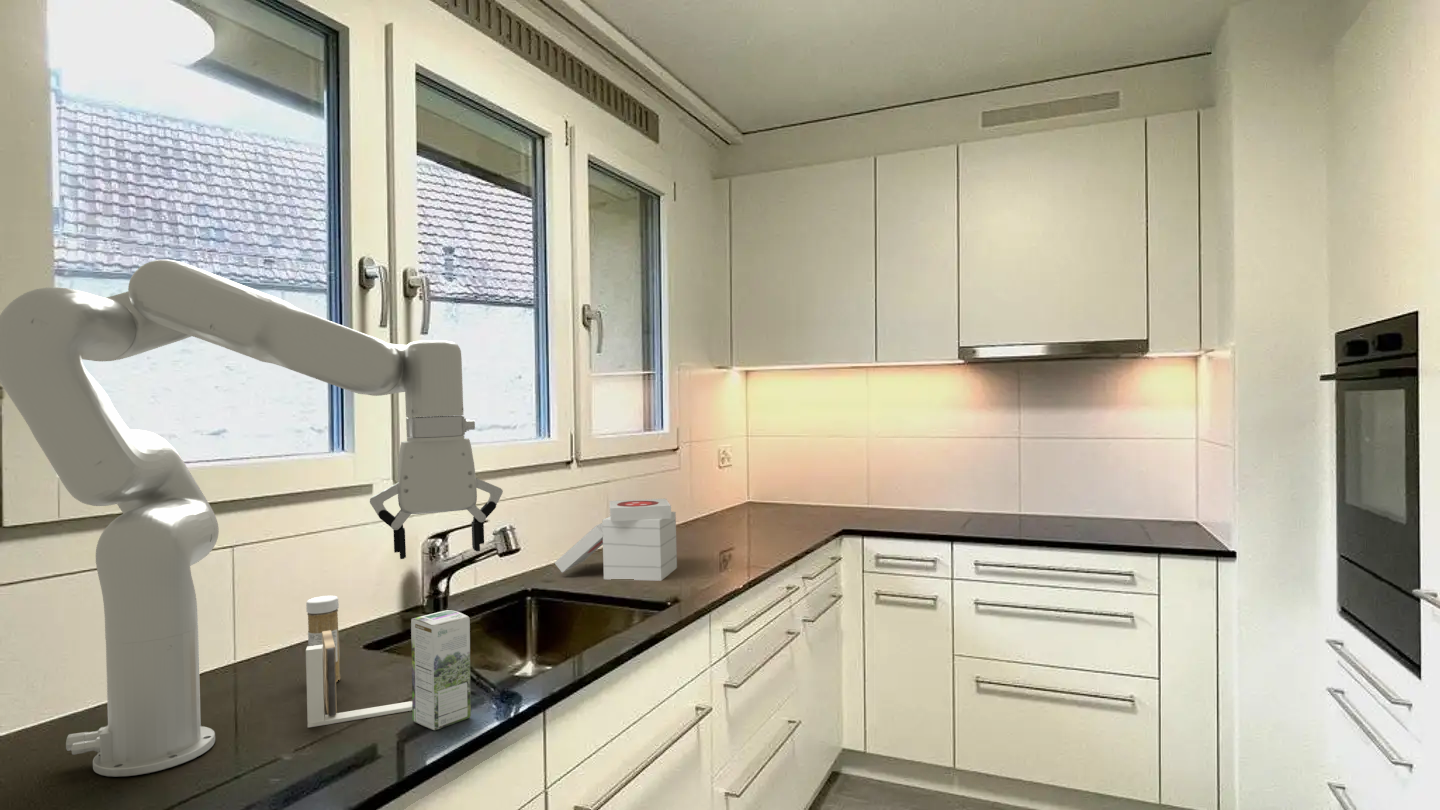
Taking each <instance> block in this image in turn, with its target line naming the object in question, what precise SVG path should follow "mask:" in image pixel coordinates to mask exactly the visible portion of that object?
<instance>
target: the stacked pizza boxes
mask: <svg viewBox="0 0 1440 810" xmlns="http://www.w3.org/2000/svg"><path fill="white" fill-rule="evenodd" d="M676 513H677V512H676V511H672V505H671V504H670V502H669V501H668V500H667V498H648V499H647V498H646V499H625V500H623V499H622V500H609V515H610V516H608V517H605V518H603V519H601V521H602V522H601V523H599V524H596V525H595V526H594V527H593V528H592V529H590V530H589V531H588V532H587V533H586V534H585V535H584V536H582V538H580V539H579V541H577V542H576V543H575V544H574V545H573V546H572V547H571V548H569V549H568V550H567V551H566V552H565V553H564V554H562V555H561V557H559V558H557V560H556V561H554V564H555V566H556V567H557V569H559V571H560V572H561V573H564V572H567V571H568V570H570V569H572V568H574V567H576V566H577V565H579V564H581V563H583V562H585V561H586V560H587V559H588V558H589V557H591V555H592V554H594V553H595V552H596V551H597V550H598V549H600V548H601V546H602V556H603V557H602V562H603V563H602V564H603V580H611V579H634V580H633V581H658V582H659V581H663V580H665V578H667V577H668V576H669V575H671V573H673V572H674V571H676V569H677V568H678V560H677V559H678V557H677V556H678V555H677V521H676V519H677V516H676V515H677V514H676Z"/></svg>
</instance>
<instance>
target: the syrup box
mask: <svg viewBox="0 0 1440 810" xmlns="http://www.w3.org/2000/svg"><path fill="white" fill-rule="evenodd" d="M410 621H411V623H410V627H411V628H410V632H411V633H410V635H411V636H410V638H411V639H410V640H411V686H412V687H411V689H412V690H411V696H412V697H411V701H412V710H411V711H412V713H411V714H412V721H413V722H414V723H416V724H419V725H421V726H423V727H425V728H428V729H429V730H433V731H437V730H440V729H442V728H446V727H448V726H451V725H453V724H456V723H459V722H462V721H464V720H467V719H469V718H471V716H472V715H471V714H472V713H471V712H472V711H471V710H472V709H471V705H472V703H471V632H470V631H471V625H470V624H471V621H470V617H469V616H468V615H466V614H464V613H462V612H460V611H458V610H457V611H456V610H451V609H446V610H442V611H437V612H434V613H429V614H425V615H421V616H417V617H414V618H413V617H412V618H411V619H410Z"/></svg>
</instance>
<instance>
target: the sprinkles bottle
mask: <svg viewBox="0 0 1440 810" xmlns="http://www.w3.org/2000/svg"><path fill="white" fill-rule="evenodd" d="M339 603H340V602H339V597H338V596H336V595H321V596H315V597H312V598H310V599H307V601H306V607H305V608H306V613H307V621H308V623H307V625H308V626H307V627H308V631H307V638H308V644H307V645H308V646H315V645H322V631H329V630H331V633H332V636H333V640H334V644H335V655H336V683H337V682H339V681H340V680H341V674H340V654H341V653H340V639H339V638H340V637H339V619H338V618H339V617H338V616H339V615H338V612H339ZM338 680H339V681H338Z"/></svg>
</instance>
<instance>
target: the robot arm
mask: <svg viewBox="0 0 1440 810" xmlns="http://www.w3.org/2000/svg"><path fill="white" fill-rule="evenodd" d="M191 337H194V338H196V339H199V340H202V341H205V342H208V343H211V344H213V345H216V346H219V347H221V348H225V349H227V350H230V351H232V352H235V353H238V354H241V355H243V356H245V357H249V358H252V359H255V360H256V361H259V362H262V363H267V364H268V363H269V364H273V365H277V366H279V367H282V368H284V369H288V370H290V371H293V372H296V373H299V374H302V375H305V376H307V377H310V378H312V379H315V380H319V381H321V382H323V383H327V384H329V385H332V386H335V387H337V388H341V389H343V390H346V391H349V392H351V393H356V394H359V395H365V396H366V395H368V396H372V397H373V396H374V397H377V396H387V395H393V394H400V393H404V395H405V397H404V399H405V402H404V403H405V422H406V423H405V424H406V427H405V429H406V440H405V441H401V442H400V447H399V451H398V452H399V453H398V463H397V465H398V466H397V483H395V484H393V485H391V486H389V487H387V488H386V489H384V490H382V491H380V492H378V493H377V494H375V495H373V496H371V497H370V499H369V503H370V505H371V506H372V508H373V510H374V511H375V513H376V514H377V516H378V518H379V519H380V520H381V521H383V522H384V523H385V524H386V525H388V526H389V527H390V528H391V529H392V531H393V552H394V553H396V554H397V553H399V559H400V560H405V559H406V558H407V554H406V553H407V552H406V550H407V548H406V530H405V527H404V524H405V522H407V519H408V518H410V516H411V515H422V514H423V515H424V514H434V513H447V512H449V513H450V512H458V511H459V512H460V511H466V510H467V511H468V512H469V513H470V514H471V515H472V517H473V518H472V519H473V520H472V521H471V544H472V545H471V547H472V549H473V551H474V552H480V551H481V545H484V544H485V526H484V522H485V521H486V519H487V518H488V517H489V516H490V515H491V514H492V513H493V511H494V510H495V509H496V508H497V505H498V503H499V501H500V499H501V497H502V495H503V494H504V493H503V491H504V490H503V488H501V487H499V486H497V485H494V484H492V483H489V482H486V481H484V480H483V479H480V478H477V477H476V468H475V461H474V456H473V450H472V444H471V441H470V438H467V437H466V438H465V435H466V433H467V432H469V431H471V430H473V431H474V430H476V425H475V423H476V422H475V419H473V420H470V419H467V418H465V416H464V391H463V367H462V366H463V364H462V363H463V362H462V361H463V360H462V350H461V348H460V346H459V345H458V344H457V343H456V342H454V341H449V340H440V339H437V340H436V339H434V340H433V339H432V340H431V339H428V340H427V339H426V340H416V341H415V340H414V341H411V342H408V344H397V343H389V342H386V341H384V340H383V339H379V338H377V337H375V336H372V335H369V334H366V333H364V332H361V331H358V330H355V329H353V328H350V327H347V326H344V325H342V324H339V323H337V322H334V321H331V320H328V319H327V318H324V317H321V316H317V315H316V314H313V313H310V312H307V311H305V310H303V309H301V308H298V307H296V306H294V305H293V304H292V303H290V302H288V301H286V300H283V299H282V298H279V297H276V296H274V295H270V294H268V293H265V292H263V291H260V290H258V289H255V288H252V287H250V286H246V285H243V284H241V283H238V282H236V281H233V280H232V279H228V278H225V277H223V276H220V275H218V274H214V273H212V272H209V271H207V270H204V269H201V268H198V267H196V266H194V265H191V264H187V263H185V262H182V261H178V260H173V259H155V260H151V261H149V262H147V263H144V264H143V265H141V266H140V267H138V268H137V269H136V270H135V271H134V272H133V273H132V276H131V277H130V280H129V283H128V288H127V291H125V292H121V293H117V294H114V295H111V296H107V297H103V296H100V295H95V294H92V293H89V292H86V291H81V290H79V289H78V290H77V289H73V288H67V287H59V286H58V287H56V286H55V287H49V286H48V287H43V288H36V289H33V290H29V291H26V292H25V293H23V294H21V295H19V296H18V297H15V299H13V300H12V301H10V303H9V304H8V305H7V306H5V308H4V309H3V310H2V312H0V384H1V386H2V387H3V389H4V390H5V392H6V394H7V395H8V398H10V400H11V401H12V403H13V404H14V406H15V407H16V409H17V411H18V412H19V413H20V415H21V416H22V417H23V419H24V422H26V425H27V426H28V428H29V430H30V432H31V434H32V435H33V437H34V438H35V440H36V442H37V443H38V446H39V447H40V448H41V450H42V451H43V454H44V455H45V456H46V458H47V459H48V461H49V463H50V465H51V466H52V468H53V469H54V471H55V474H56V475H57V476H58V477H59V479H60V481H61V483H62V485H63V486H64V488H65V489H66V490H67V492H68V493H69V494H70V495H71V496H72V498H74V499H76V500H77V501H79V502H80V503H82V504H85V505H87V506H93V507H108V506H113V505H114V506H115V505H117V506H118V508H119V509H120V511H121V513H122V514H120V515H119V516H117V517H116V518H115V519H113V520H112V521H111V522H110V523H109V524H108V525H107V526H106V527H105V528H104V530H103V531H102V532H101V534H100V536H99V539H98V540H97V545H96V549H95V565H96V571H97V576H98V581H99V585H100V589H101V594H102V602H103V610H104V612H103V613H104V627H105V628H104V631H105V633H104V636H105V638H104V639H105V654H106V655H105V658H106V659H105V660H106V663H105V664H106V694H107V695H106V697H107V701H106V702H107V725H105V726H101V727H100V728H99V729H98V730H95V731H84V732H77V733H76V732H75V733H69V734H68V735H67V737H66V742H65V749H66V751H71V755H74V756H75V755H78V754H86V753H88V752H89V753H90V752H93V751H94V752H95V753H97V754H96V755H95V756H94V757H93V759H92V770H93V772H94V773H96V774H98V775H100V776H105V777H115V778H116V777H117V778H118V777H119V778H120V777H132V776H133V777H134V776H139V775H145V774H146V775H147V774H150V773H155V772H160V771H162V770H167V769H170V768H174V767H176V766H180V765H182V764H184V763H187V762H189V761H192V760H194V759H196V758H197V757H199V756H201V755H204V754H205V753H207V752H208V751H209V750H211V748H212V747H213V746H214V745H215V742H216V732H215V730H214V729H212V728H210V727H207V726H204V725H203V726H202V725H201V723H202V722H201V718H202V717H201V686H200V654H199V653H200V650H199V649H200V648H199V647H200V646H199V623H198V621H199V620H198V619H199V617H198V616H199V615H198V603H197V602H198V601H197V593H196V589H195V584H194V581H193V576H192V572H191V566H194V565H195V564H197V563H198V562H200V561H202V560H203V559H205V558H206V557H207V556H208V555H209V554H210V553H211V552H212V551H213V549H214V548H215V545H216V544H217V542H218V538H219V523H218V519H217V517H216V514H215V512H214V510H213V508H212V506H211V505H210V502H209V500H207V498H206V496H205V494H204V493H203V491H202V490H201V488H200V486H199V484H198V483H197V482H196V480H195V478H194V476H193V475H192V474H191V472H190V471H191V470H190V469H189V468H188V466H187V465H186V463H185V461H184V460H183V459H182V457H181V455H180V453H178V451H177V449H176V448H175V447H174V446H173V445H172V443H170V442H169V441H167V439H165V438H164V437H162V436H161V435H159V434H157V433H155V432H152V431H149V430H144V429H138V428H137V429H135V428H133V429H131V428H129V426H128V425H127V424H126V423H125V421H124V420H123V418H122V417H121V415H120V414H119V412H118V411H117V409H116V408H115V406H114V404H113V403H112V400H111V398H110V396H109V395H108V393H107V392H106V391H105V389H104V388H103V387H102V386H101V384H100V383H99V382H98V381H97V380H96V379H95V377H93V375H91V373H90V372H89V371H88V369H87V368H86V366H85V364H84V362H83V360H84V361H92V362H113V361H118V360H123V359H126V358H131V357H133V356H137V355H140V354H142V353H146V352H149V351H152V350H155V349H158V348H161V347H164V346H167V345H168V346H169V345H171V344H173V343H177V342H180V341H183V340H185V339H188V338H191ZM478 489H479V490H481V491H483V492H486V493H489V497H488V500H487V502H485V503H484V505H483V506H482V507H481V508H479V507H478V506H477V505H476V504H477V500H478V494H477V491H478ZM396 495H397V499H398V500H397V501H398V506H399V509H400V510H399V511H398V512H397V513H396V515H393V514H392V513H391V512H389V511H388V510H387V509H386V507H385V505H384V503H385V502H386V501H388V500H389V499H391V498H392V497H394V496H396Z"/></svg>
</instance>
